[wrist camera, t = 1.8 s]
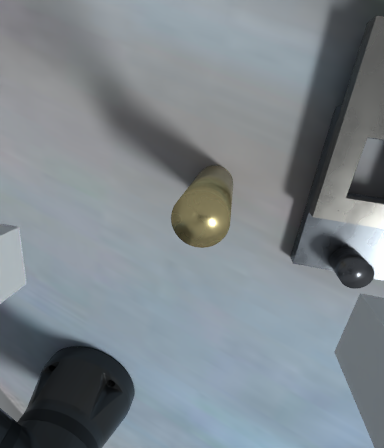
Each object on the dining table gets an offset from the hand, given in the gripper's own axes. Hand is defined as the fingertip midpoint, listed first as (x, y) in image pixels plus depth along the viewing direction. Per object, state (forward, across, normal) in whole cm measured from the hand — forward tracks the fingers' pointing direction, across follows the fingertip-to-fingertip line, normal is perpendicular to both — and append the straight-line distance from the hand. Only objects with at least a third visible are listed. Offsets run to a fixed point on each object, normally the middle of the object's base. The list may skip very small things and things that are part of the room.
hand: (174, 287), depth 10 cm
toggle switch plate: (+20, -15, -4) cm, 25 cm away
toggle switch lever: (+20, 0, 0) cm, 20 cm away
